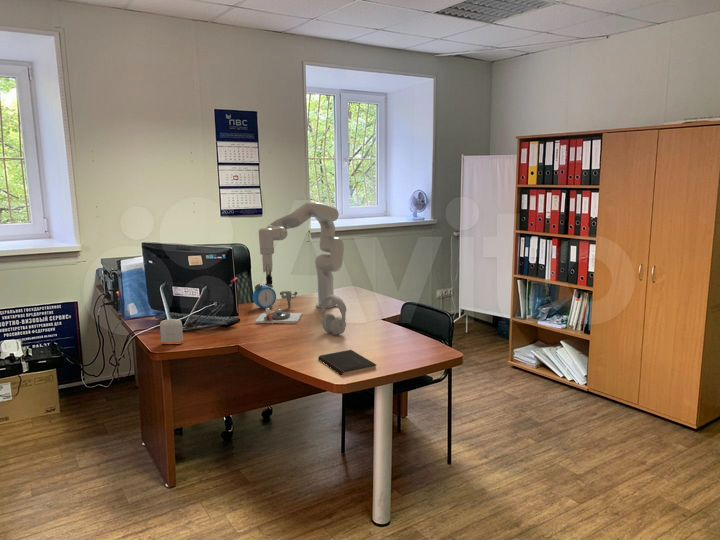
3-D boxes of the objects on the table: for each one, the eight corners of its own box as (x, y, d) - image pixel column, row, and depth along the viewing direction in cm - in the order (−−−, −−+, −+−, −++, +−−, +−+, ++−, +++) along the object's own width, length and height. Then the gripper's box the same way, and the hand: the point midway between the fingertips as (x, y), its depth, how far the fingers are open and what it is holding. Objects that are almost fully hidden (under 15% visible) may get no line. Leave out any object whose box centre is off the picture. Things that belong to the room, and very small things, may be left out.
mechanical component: (297, 308, 331) (296, 292, 330) (280, 308, 332) (279, 292, 330) (298, 307, 334) (297, 291, 333) (281, 307, 335) (280, 291, 333)
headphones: (351, 336, 272) (350, 296, 268) (338, 339, 267) (337, 299, 264) (329, 329, 286) (328, 291, 282) (317, 331, 281) (315, 293, 278)
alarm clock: (257, 310, 328) (255, 285, 326) (252, 308, 333) (251, 284, 331) (277, 307, 336) (275, 282, 333) (272, 305, 341) (271, 281, 338)
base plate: (302, 315, 314) (301, 307, 314) (297, 323, 298) (297, 315, 297) (262, 315, 315) (261, 308, 315) (255, 324, 299) (255, 315, 298)
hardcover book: (351, 354, 247) (350, 349, 246) (376, 370, 227) (376, 364, 226) (318, 360, 239) (318, 355, 239) (342, 377, 219) (341, 371, 219)
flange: (281, 312, 314) (280, 302, 313) (294, 316, 306) (294, 305, 305) (259, 317, 304) (258, 307, 303) (272, 321, 296) (271, 310, 294)
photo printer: (184, 342, 268) (182, 317, 266) (182, 345, 264) (180, 320, 262) (162, 343, 268) (160, 318, 266) (160, 345, 264) (158, 320, 261)
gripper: (260, 249, 307) (262, 281, 311) (259, 253, 292) (262, 287, 296) (274, 248, 308) (276, 280, 312) (273, 252, 293) (276, 286, 297)
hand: (269, 283), depth 304 cm, fingers closed
